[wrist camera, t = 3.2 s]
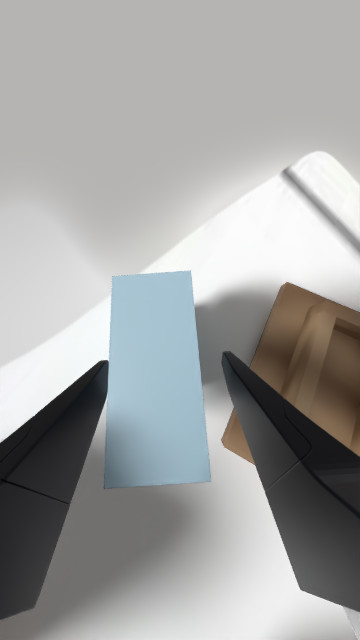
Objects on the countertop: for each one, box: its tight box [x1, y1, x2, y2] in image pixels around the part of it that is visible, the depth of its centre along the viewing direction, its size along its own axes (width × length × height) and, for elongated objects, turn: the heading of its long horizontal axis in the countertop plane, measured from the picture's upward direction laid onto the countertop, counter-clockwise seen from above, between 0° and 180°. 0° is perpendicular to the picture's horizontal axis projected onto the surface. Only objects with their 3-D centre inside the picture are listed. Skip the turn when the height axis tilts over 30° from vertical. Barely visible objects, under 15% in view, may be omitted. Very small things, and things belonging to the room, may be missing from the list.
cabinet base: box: [221, 282, 360, 465], centre depth 13 cm, size 18×14×3 cm
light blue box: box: [104, 271, 211, 489], centre depth 11 cm, size 8×3×11 cm, turn 4°
